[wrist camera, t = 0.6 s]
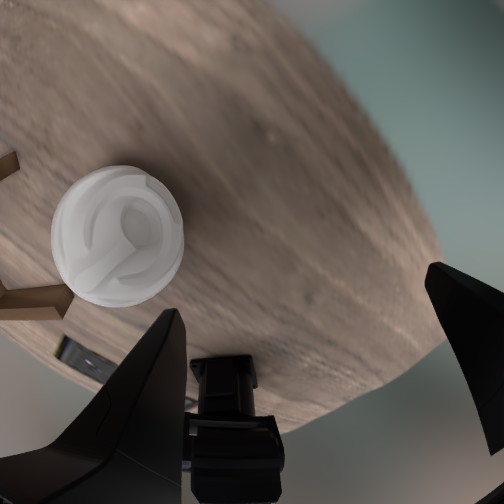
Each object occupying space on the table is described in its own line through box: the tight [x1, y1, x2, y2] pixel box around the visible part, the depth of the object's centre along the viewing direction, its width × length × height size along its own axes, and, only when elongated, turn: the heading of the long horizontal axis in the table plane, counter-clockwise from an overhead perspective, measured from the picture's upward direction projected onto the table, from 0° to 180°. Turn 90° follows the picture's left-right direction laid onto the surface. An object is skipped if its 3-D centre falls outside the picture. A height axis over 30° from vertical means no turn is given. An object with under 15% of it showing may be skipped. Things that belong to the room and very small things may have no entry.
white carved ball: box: [51, 165, 184, 307], centre depth 15 cm, size 8×8×8 cm
